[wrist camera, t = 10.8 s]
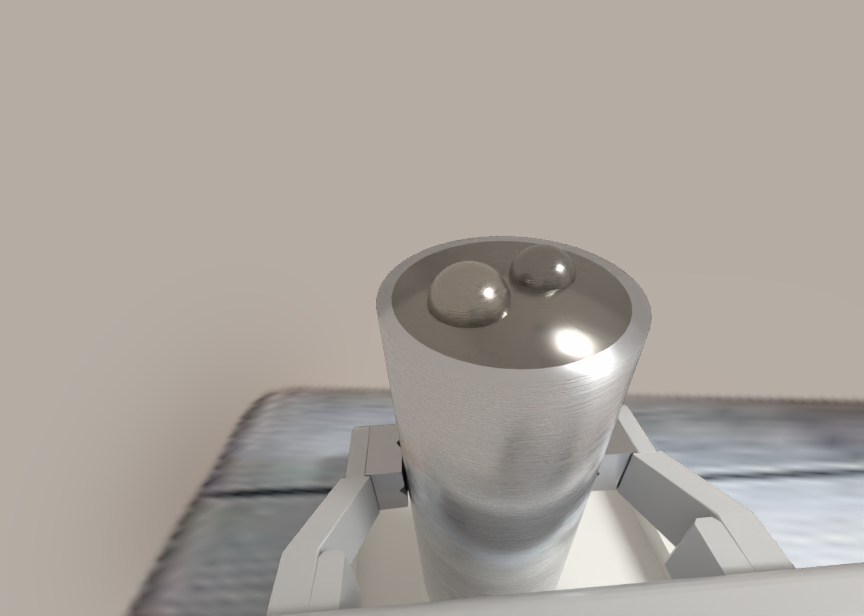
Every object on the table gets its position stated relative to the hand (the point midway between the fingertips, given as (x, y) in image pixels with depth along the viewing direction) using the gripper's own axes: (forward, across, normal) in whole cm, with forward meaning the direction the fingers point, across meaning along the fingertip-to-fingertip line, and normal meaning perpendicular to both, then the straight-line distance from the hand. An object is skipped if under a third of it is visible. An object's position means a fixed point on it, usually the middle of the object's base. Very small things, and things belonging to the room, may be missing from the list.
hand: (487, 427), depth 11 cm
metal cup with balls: (-1, 0, +7) cm, 7 cm away
